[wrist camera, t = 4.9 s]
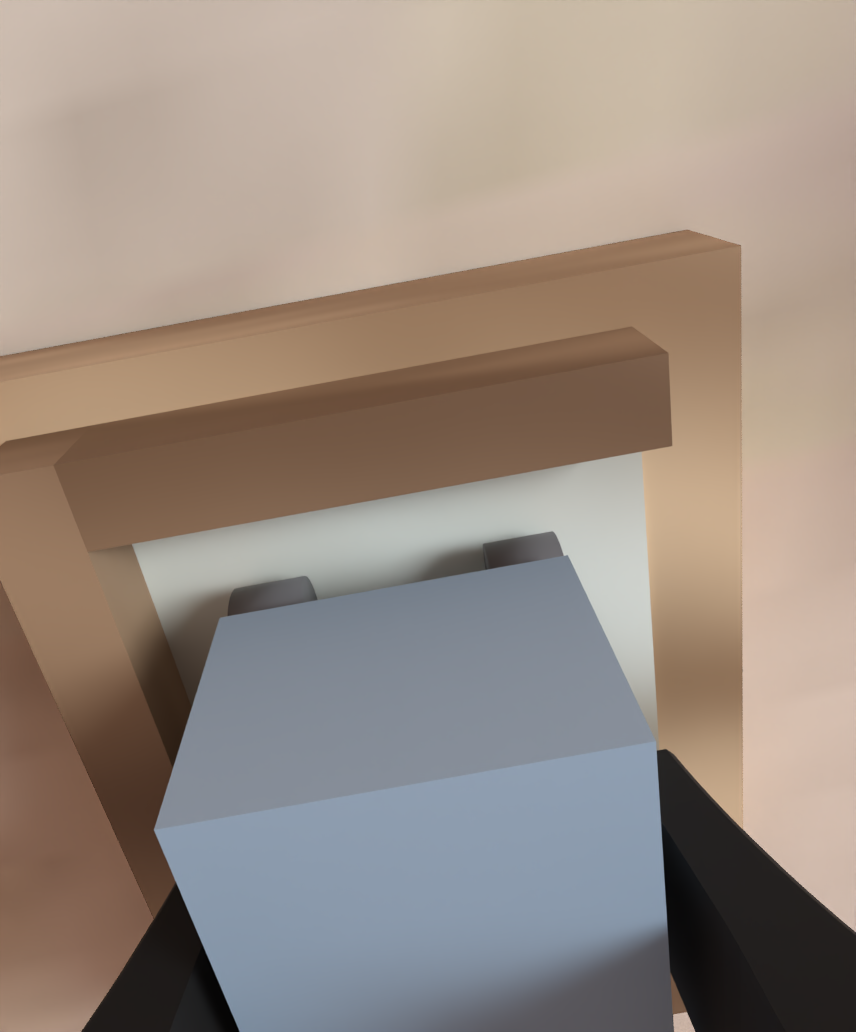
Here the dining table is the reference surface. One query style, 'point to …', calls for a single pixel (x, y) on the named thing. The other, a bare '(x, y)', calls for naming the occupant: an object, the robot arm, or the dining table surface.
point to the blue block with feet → (424, 809)
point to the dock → (384, 487)
